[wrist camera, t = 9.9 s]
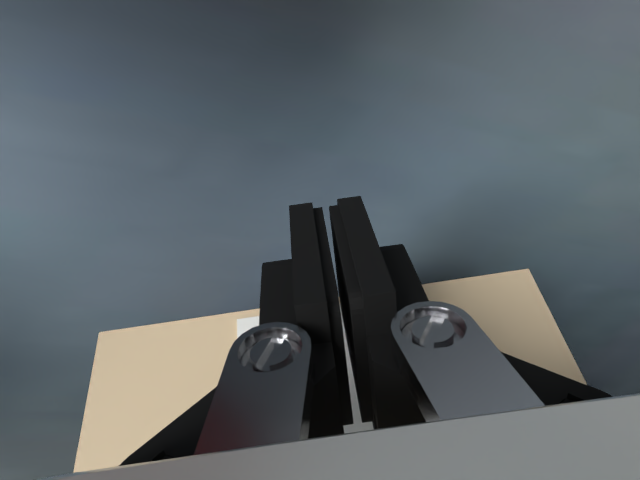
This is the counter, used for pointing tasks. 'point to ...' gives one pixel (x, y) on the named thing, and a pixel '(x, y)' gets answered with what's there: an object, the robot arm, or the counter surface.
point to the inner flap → (222, 330)
